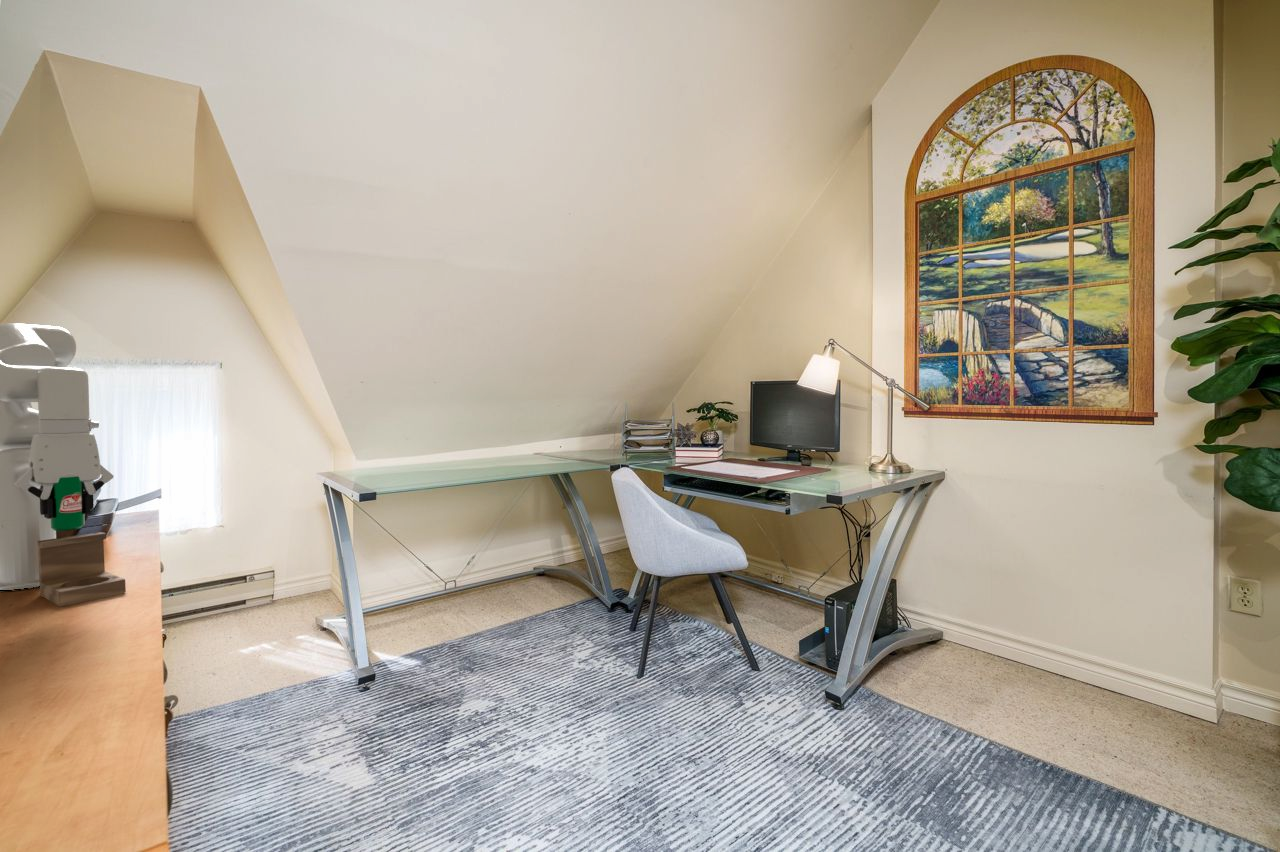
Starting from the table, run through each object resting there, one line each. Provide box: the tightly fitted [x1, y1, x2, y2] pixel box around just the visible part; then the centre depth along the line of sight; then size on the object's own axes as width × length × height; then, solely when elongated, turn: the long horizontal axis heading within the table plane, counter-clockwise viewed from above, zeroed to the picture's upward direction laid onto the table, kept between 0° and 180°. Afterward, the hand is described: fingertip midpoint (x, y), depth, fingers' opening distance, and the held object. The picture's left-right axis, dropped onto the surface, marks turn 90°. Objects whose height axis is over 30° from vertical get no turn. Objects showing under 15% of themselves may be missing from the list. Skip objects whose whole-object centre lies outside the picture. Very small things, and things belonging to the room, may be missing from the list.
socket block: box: [38, 531, 127, 608], centre depth 129 cm, size 14×10×12 cm
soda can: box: [49, 475, 86, 532], centre depth 122 cm, size 5×5×12 cm
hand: (67, 514), depth 122 cm, fingers closed on soda can, 5 cm apart
